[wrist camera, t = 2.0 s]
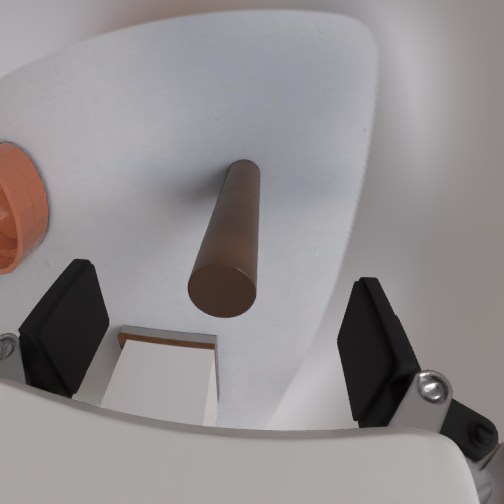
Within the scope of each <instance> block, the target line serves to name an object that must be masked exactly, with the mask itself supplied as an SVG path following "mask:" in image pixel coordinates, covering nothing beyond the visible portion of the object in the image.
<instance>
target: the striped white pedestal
mask: <svg viewBox="0 0 504 504" xmlns="http://www.w3.org/2000/svg"><path fill="white" fill-rule="evenodd" d="M118 341H119V344H120V347H121V350H122V352H121V355H120V357H119V359H118V362H117V364H116V367H115V369H114V372H113V374H112V377H111V379H110V382H109V384H108V387H107V389H106V392H105V394H104V397H103V400H102V402H101V405H100V407H102V408H106V409H110V410H114V411H119V412H123V413H128V414H132V415H137V416H142V417H148V418H153V419H159V420H165V421H171V422H178V423H185V424H192V425H201V426H210V427H215V426H216V418H217V409H218V401H219V393H220V392H219V375H218V356H217V336H216V335H204V334H193V333H183V332H174V331H165V330H156V329H148V328H141V327H133V326H126V325H123V327H122V329H121V331H120V333H119V336H118Z"/></svg>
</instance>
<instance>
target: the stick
mask: <svg viewBox="0 0 504 504" xmlns="http://www.w3.org/2000/svg"><path fill="white" fill-rule="evenodd" d="M259 201H260V170H259V168H258V166H257V165H256V164H255V163H253V162H252V161H249V160H239V161H236V162H235V163H233V164H232V165H231V167H230V169H229V171H228V174H227V176H226V179H225V182H224V184H223V187H222V189H221V192H220V195H219V197H218V200H217V203H216V205H215V208H214V211H213V213H212V216H211V219H210V222H209V224H208V227H207V230H206V233H205V235H204V238H203V241H202V244H201V247H200V250H199V252H198V255H197V258H196V261H195V264H194V267H193V270H192V273H191V276H190V279H189V282H188V294H189V297H190V299H191V301H192V302H193V304H194V305H195V306H196V307H197V308H198V309H200V310H201V311H203V312H204V313H206V314H208V315H211V316H214V317H220V318H230V317H235V316H238V315H241V314H243V313H245V312H246V311H247V310H248V309H249V308H250V307H251V306H252V305H253V303H254V301H255V298H256V289H257V260H258V231H259Z"/></svg>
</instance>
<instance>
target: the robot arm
mask: <svg viewBox="0 0 504 504" xmlns="http://www.w3.org/2000/svg"><path fill="white" fill-rule="evenodd" d="M108 327H109V317H108V313H107V310H106V307H105V304H104V300H103V297H102V293H101V289H100V286H99V282H98V278H97V274H96V270H95V267H94V265H93V264H91V262H90V261H89V260H85V259H74V260H73V261H72V262H71V263H70V264H69V266H68V267H67V268H66V269H65V270H64V271H63V273H62V274H61V275H60V276H59V277H58V279H57V280H56V281H55V282H54V283H53V285H52V286H51V287H50V288H49V290H48V291H47V292H46V293H45V295H44V296H43V297H42V298H41V300H40V301H39V302H38V304H37V305H36V306H35V308H34V309H33V310H32V311H31V313H30V314H29V315H28V317H27V318H26V320H25V321H24V322H23V324H22V325H21V326H20V328H19V329H18V331H19V333H20V336H19V338H18V337H17V336H16V335H14V334H12V333H5V334H2V335H0V504H504V443H503V442H502V443H501V444H499V443H498V432H497V430H496V427H495V425H494V424H493V423H492V422H491V421H490V420H488V419H487V418H485V417H484V416H482V415H480V414H478V413H477V412H475V411H473V410H471V409H470V408H468V407H466V406H464V405H463V404H461V403H459V402H457V401H456V400H454V399H452V394H453V391H452V386H451V384H450V382H449V380H448V379H447V378H446V377H445V376H444V375H442V374H441V373H439V372H436V371H434V370H424V371H421V368H420V366H419V364H418V361H417V359H416V356H415V354H414V351H413V349H412V347H411V345H410V342H409V340H408V338H407V336H406V334H405V331H404V329H403V327H402V325H401V323H400V320H399V318H398V317H397V316H396V315H395V314H394V312H393V309H392V307H391V305H390V303H389V301H388V299H387V297H386V295H385V293H384V291H383V289H382V287H381V285H380V283H379V281H378V279H377V278H371V277H361V278H360V279H359V281H355V282H354V285H353V288H352V292H351V295H350V299H349V302H348V305H347V309H346V312H345V315H344V318H343V321H342V325H341V328H340V331H339V334H338V338H337V345H338V350H339V354H340V358H341V363H342V367H343V372H344V377H345V381H346V386H347V391H348V396H349V401H350V406H351V411H352V416H353V420H354V421H358V424H359V428H354V429H338V430H308V431H307V430H305V431H274V430H273V431H272V430H248V429H232V428H220V427H210V426H201V425H192V424H185V423H178V422H171V421H165V420H159V419H153V418H148V417H142V416H137V415H132V414H128V413H123V412H119V411H114V410H110V409H106V408H102V407H98V406H94V405H90V404H87V403H83V402H80V401H76V400H73V399H71V398H72V396H73V394H75V393H77V391H78V389H79V387H80V385H81V383H82V380H83V378H84V376H85V374H86V372H87V370H88V367H89V365H90V363H91V361H92V359H93V357H94V355H95V353H96V351H97V349H98V347H99V345H100V343H101V341H102V339H103V337H104V335H105V333H106V331H107V329H108Z"/></svg>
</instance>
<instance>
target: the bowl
mask: <svg viewBox="0 0 504 504" xmlns="http://www.w3.org/2000/svg"><path fill="white" fill-rule="evenodd" d="M48 219H49V209H48V202H47V195H46V192H45V189H44V186H43V183H42V180H41V177H40V174H39V173H38V171H37V169H36V168H35V166H34V164H33V163H32V161H31V160H30V158H29V157H28V156H27V155H26V154H25V153H24V152H23V151H22V150H21V149H20V148H18V147H16V146H14V145H12V144H10V143H7V142H0V274H6V273H11V272H12V271H13V270H14V269H15V268H16V267H17V266H18V265H19V264H20V263H21V262H22V261H23V260H24V259H25V258H26V257H27V256H28V255H29V254H30V253H31V252H32V251H33V250H34V249H35V248H36V247H37V246H38V245H39V244H41V242H42V241H43V238H44V236H45V234H46V232H47V228H48Z"/></svg>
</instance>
